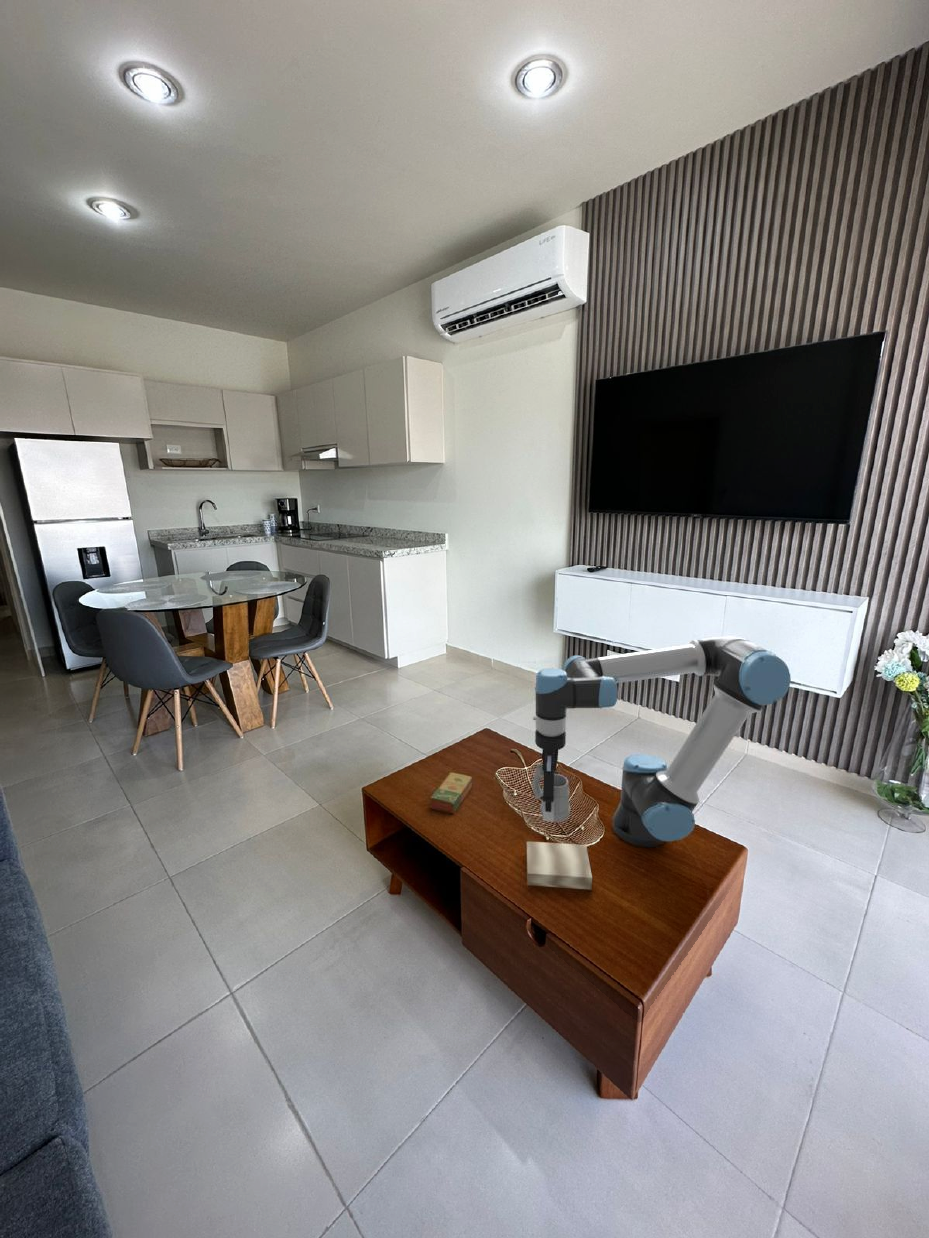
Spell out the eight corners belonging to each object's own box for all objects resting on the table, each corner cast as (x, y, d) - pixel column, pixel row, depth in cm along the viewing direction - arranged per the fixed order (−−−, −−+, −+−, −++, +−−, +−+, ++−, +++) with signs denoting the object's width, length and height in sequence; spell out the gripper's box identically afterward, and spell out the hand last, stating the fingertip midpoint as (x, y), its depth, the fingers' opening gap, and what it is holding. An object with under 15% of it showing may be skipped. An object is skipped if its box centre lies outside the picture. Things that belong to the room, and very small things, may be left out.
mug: (556, 827, 127) (557, 785, 124) (523, 805, 136) (522, 765, 133) (576, 815, 131) (577, 773, 128) (543, 794, 140) (543, 755, 137)
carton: (472, 787, 172) (472, 776, 171) (454, 815, 158) (454, 803, 157) (450, 782, 175) (450, 771, 174) (429, 808, 161) (429, 797, 160)
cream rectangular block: (585, 857, 140) (586, 844, 138) (591, 890, 128) (592, 877, 127) (526, 853, 141) (526, 841, 140) (527, 886, 130) (527, 873, 129)
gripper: (538, 711, 137) (537, 785, 143) (531, 749, 117) (531, 834, 123) (566, 712, 136) (564, 787, 142) (564, 752, 116) (562, 837, 122)
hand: (549, 809), depth 132 cm, fingers closed on mug, 8 cm apart
